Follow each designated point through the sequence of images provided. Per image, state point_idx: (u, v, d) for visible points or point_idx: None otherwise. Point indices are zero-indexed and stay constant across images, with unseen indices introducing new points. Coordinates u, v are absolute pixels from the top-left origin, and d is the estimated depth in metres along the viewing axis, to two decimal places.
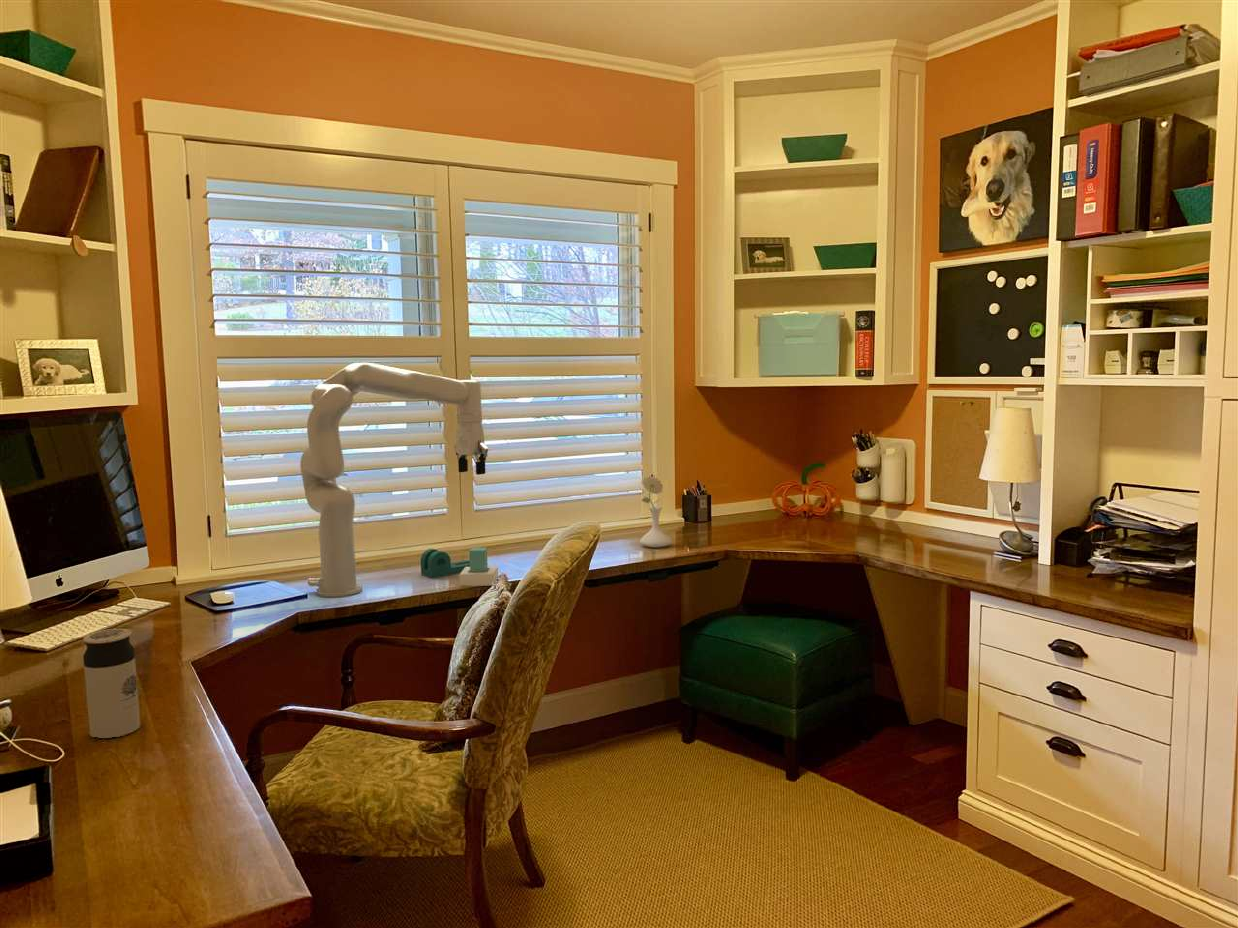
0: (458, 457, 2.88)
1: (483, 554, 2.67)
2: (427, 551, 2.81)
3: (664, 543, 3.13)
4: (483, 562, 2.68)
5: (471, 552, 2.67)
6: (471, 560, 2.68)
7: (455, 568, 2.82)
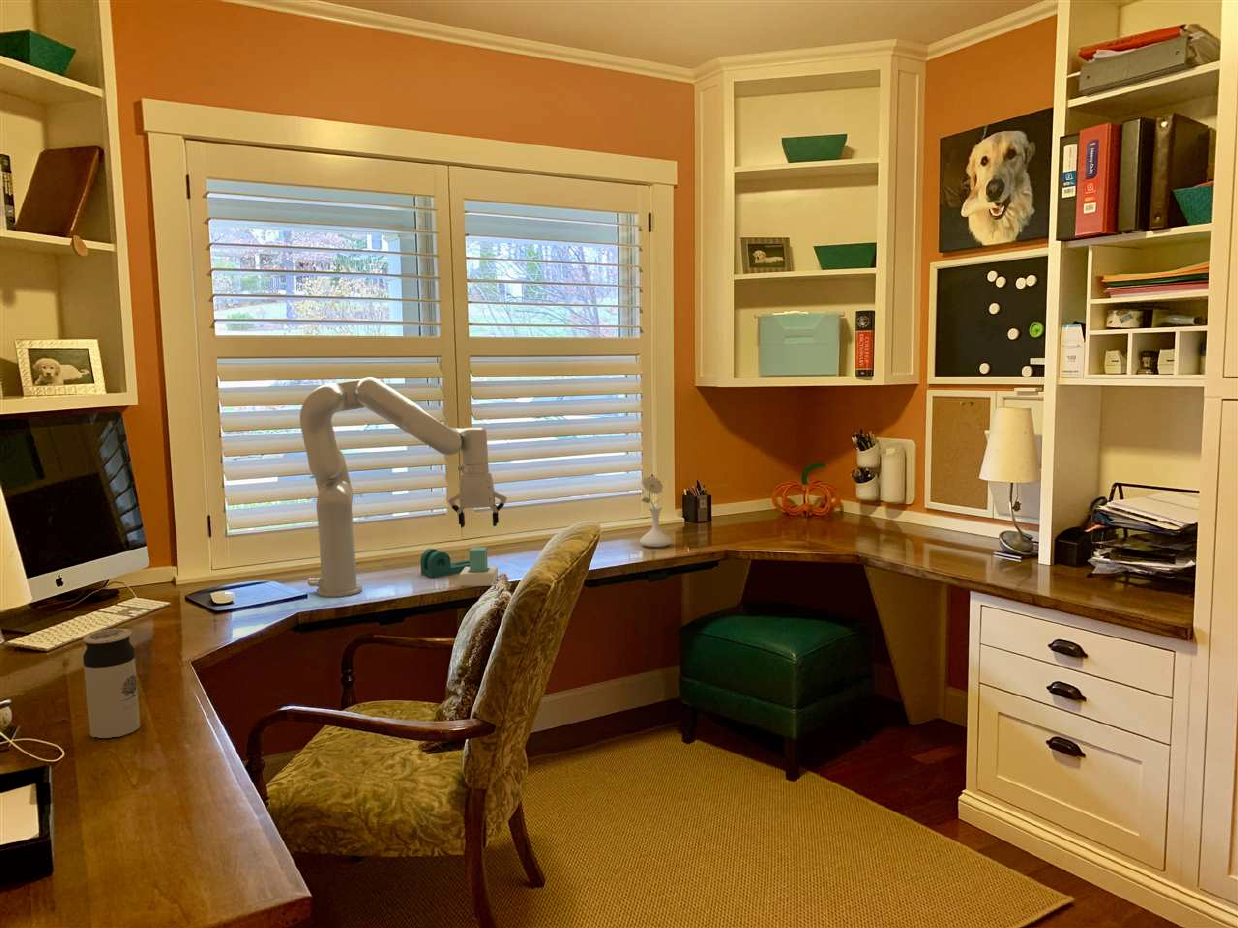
0: (459, 511, 2.67)
1: (483, 554, 2.67)
2: (427, 551, 2.81)
3: (664, 543, 3.13)
4: (483, 562, 2.68)
5: (471, 552, 2.67)
6: (471, 560, 2.68)
7: (455, 568, 2.81)
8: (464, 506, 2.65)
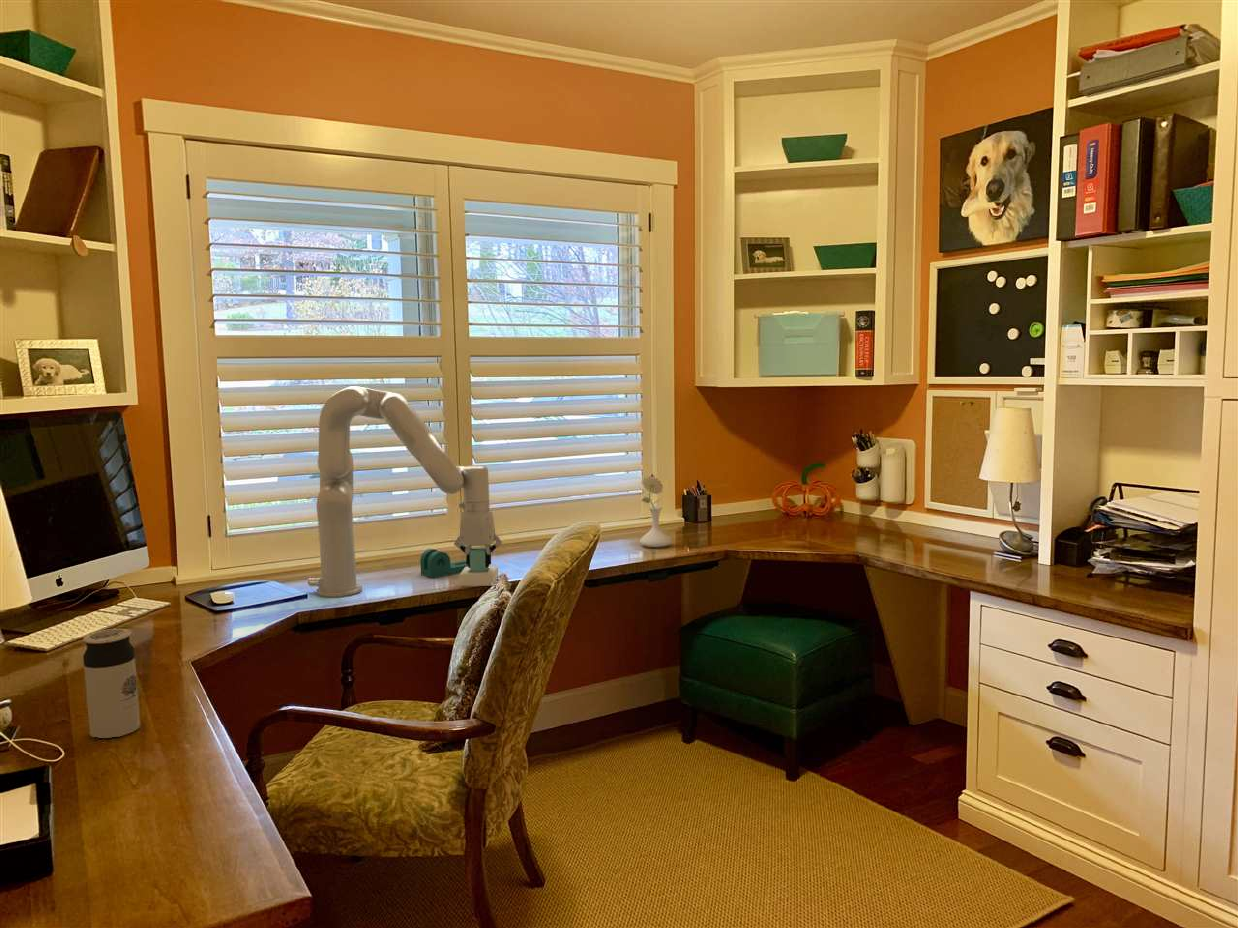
0: (467, 552, 2.68)
1: (483, 554, 2.67)
2: (427, 551, 2.81)
3: (664, 543, 3.13)
4: (483, 562, 2.68)
5: (471, 552, 2.67)
6: (471, 560, 2.68)
7: (455, 568, 2.81)
8: (464, 544, 2.67)
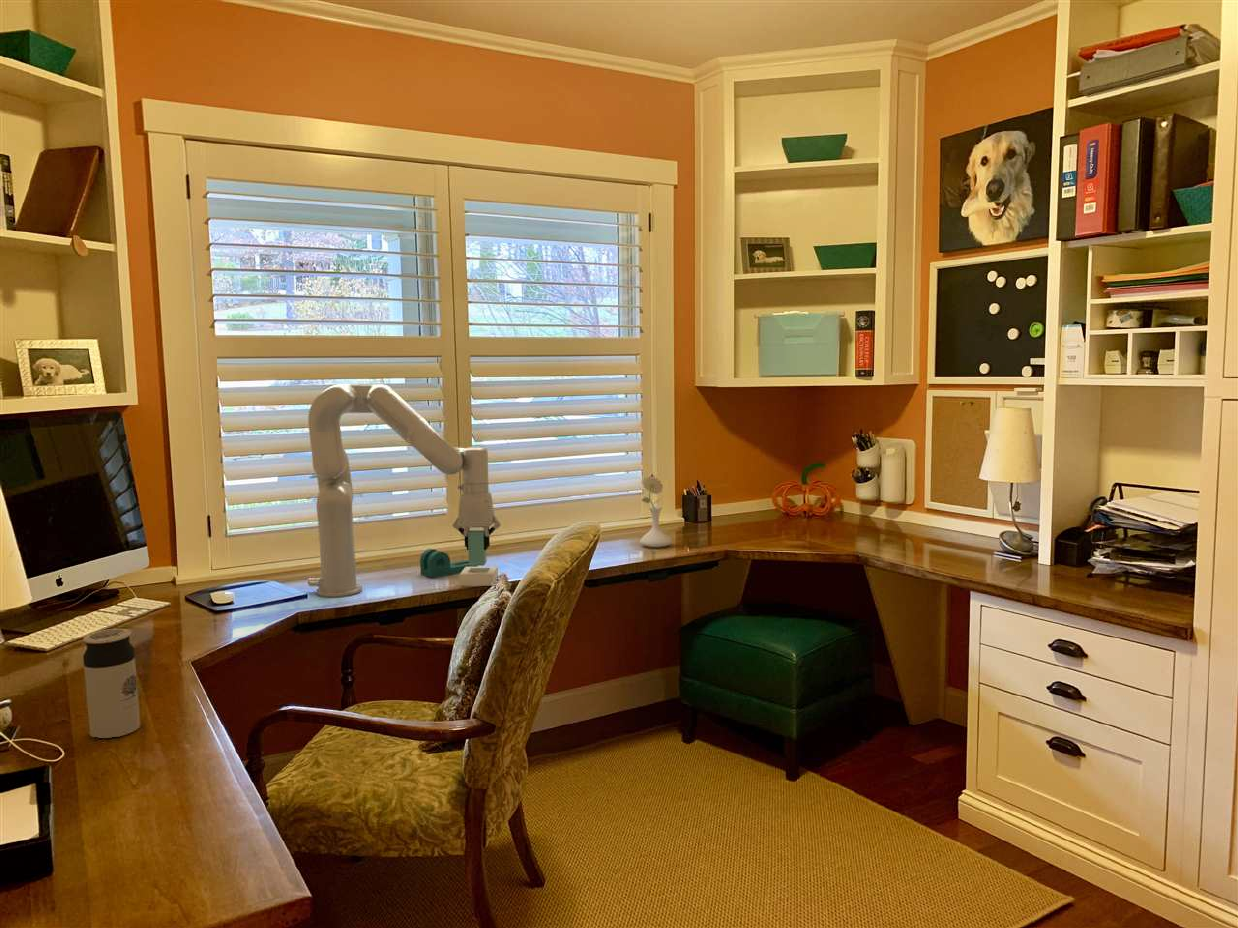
0: (465, 534, 2.68)
1: (482, 536, 2.67)
2: (427, 551, 2.81)
3: (664, 543, 3.13)
4: (481, 544, 2.67)
5: (470, 534, 2.67)
6: (469, 542, 2.67)
7: (455, 568, 2.81)
8: (463, 525, 2.66)
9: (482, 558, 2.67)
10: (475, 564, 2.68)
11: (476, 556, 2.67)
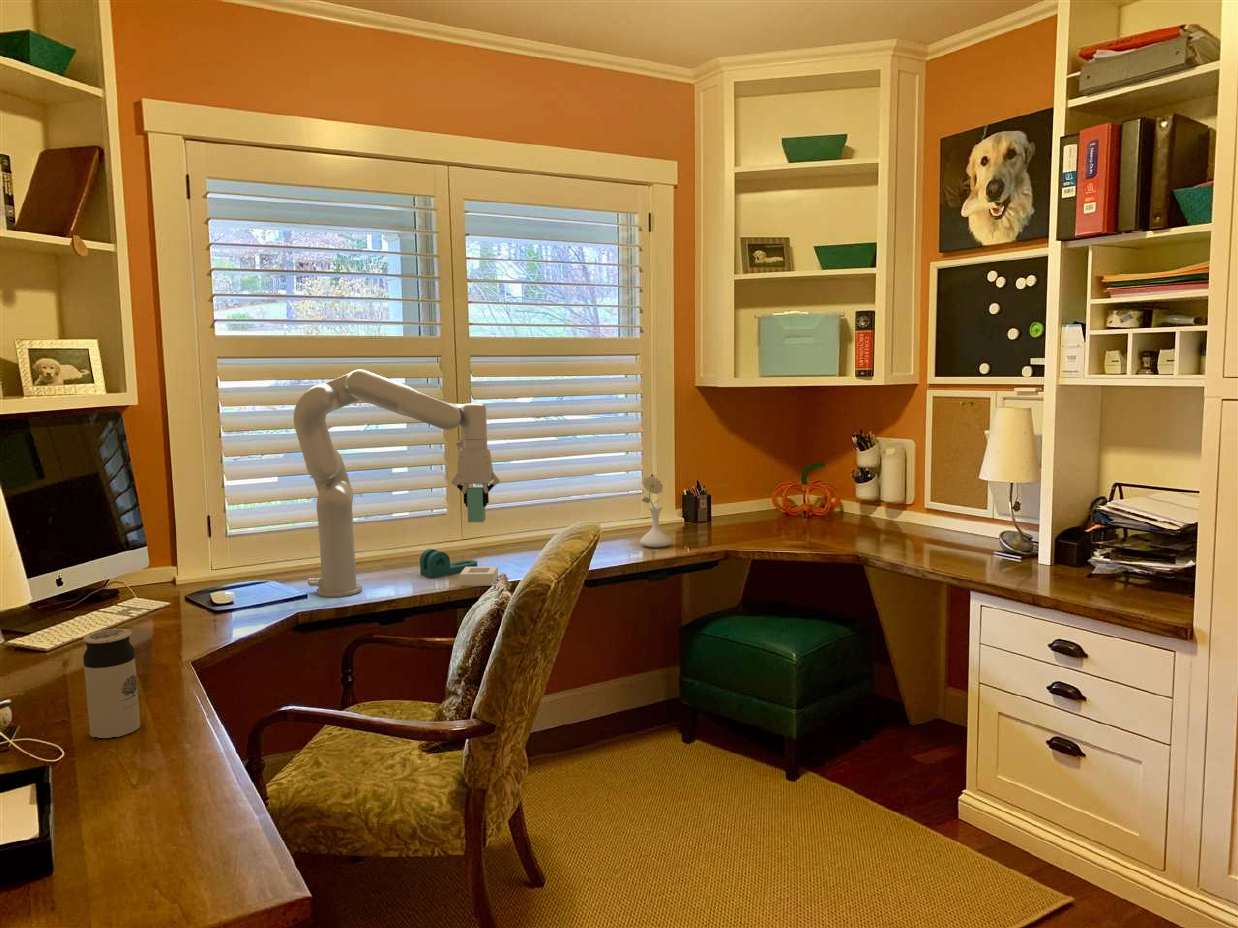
0: (464, 490, 2.66)
1: (481, 492, 2.65)
2: (426, 551, 2.81)
3: (664, 543, 3.13)
4: (481, 500, 2.66)
5: (468, 490, 2.65)
6: (468, 498, 2.66)
7: (454, 568, 2.81)
8: (462, 482, 2.65)
9: (481, 515, 2.66)
10: (474, 521, 2.66)
11: (475, 513, 2.66)
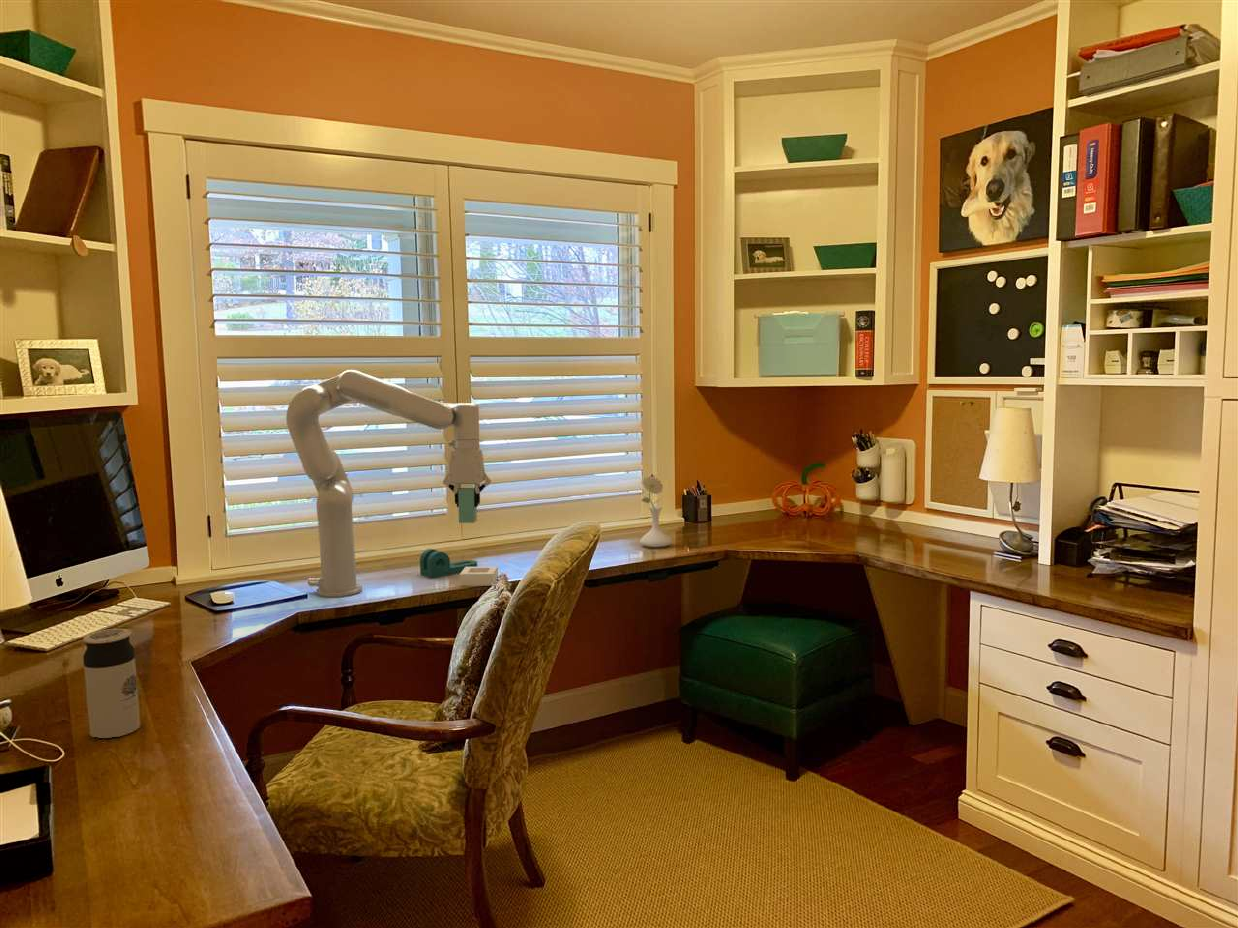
0: (455, 490, 2.65)
1: (472, 493, 2.64)
2: (426, 551, 2.81)
3: (664, 543, 3.13)
4: (472, 501, 2.65)
5: (460, 490, 2.64)
6: (460, 499, 2.65)
7: (454, 568, 2.81)
8: (453, 482, 2.64)
9: (472, 515, 2.65)
10: (465, 521, 2.65)
11: (466, 513, 2.65)
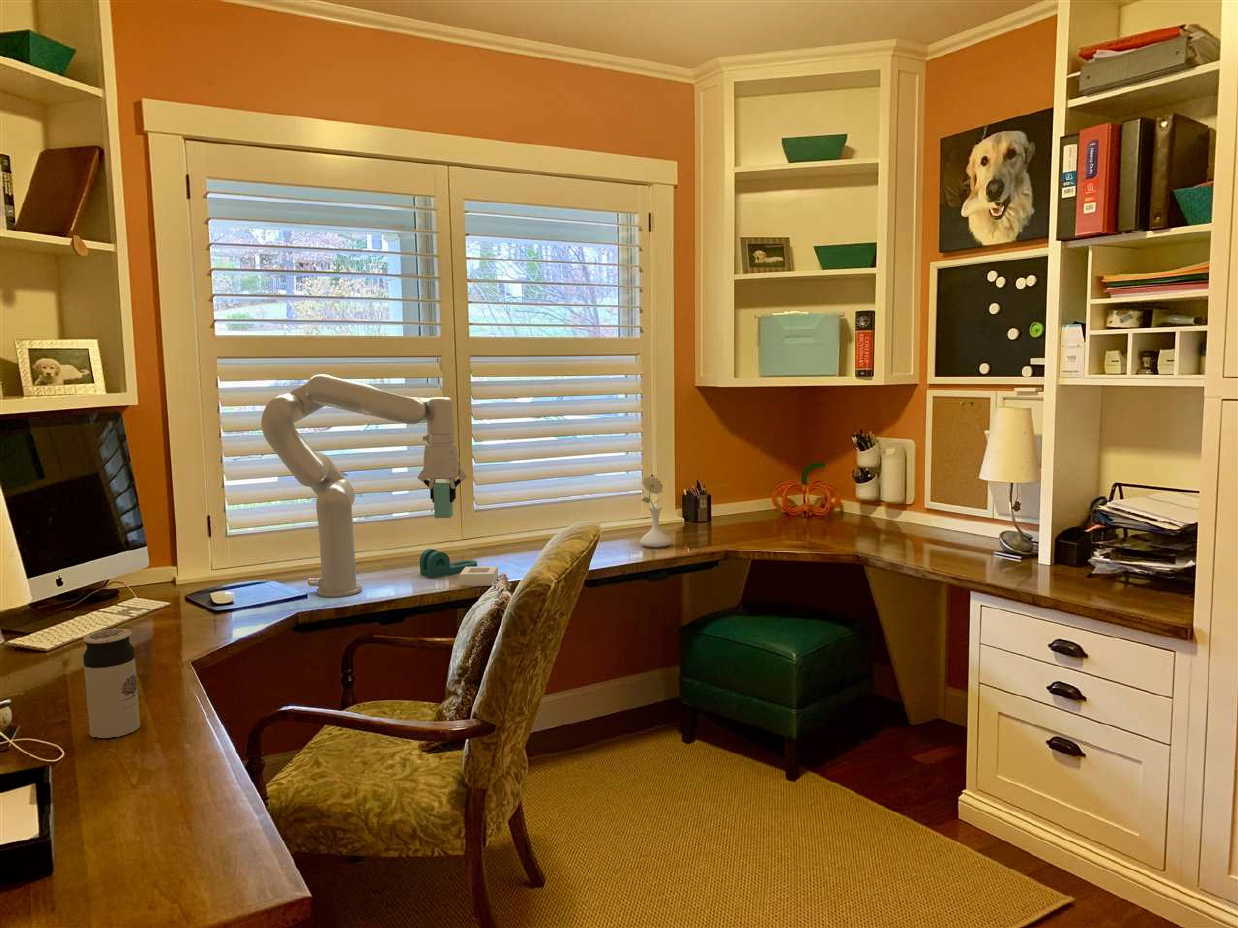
0: (431, 486, 2.62)
1: (447, 488, 2.61)
2: (426, 551, 2.81)
3: (664, 543, 3.13)
4: (447, 496, 2.62)
5: (435, 486, 2.61)
6: (435, 494, 2.61)
7: (454, 568, 2.81)
8: (428, 477, 2.60)
9: (448, 510, 2.62)
10: (441, 517, 2.62)
11: (441, 509, 2.62)
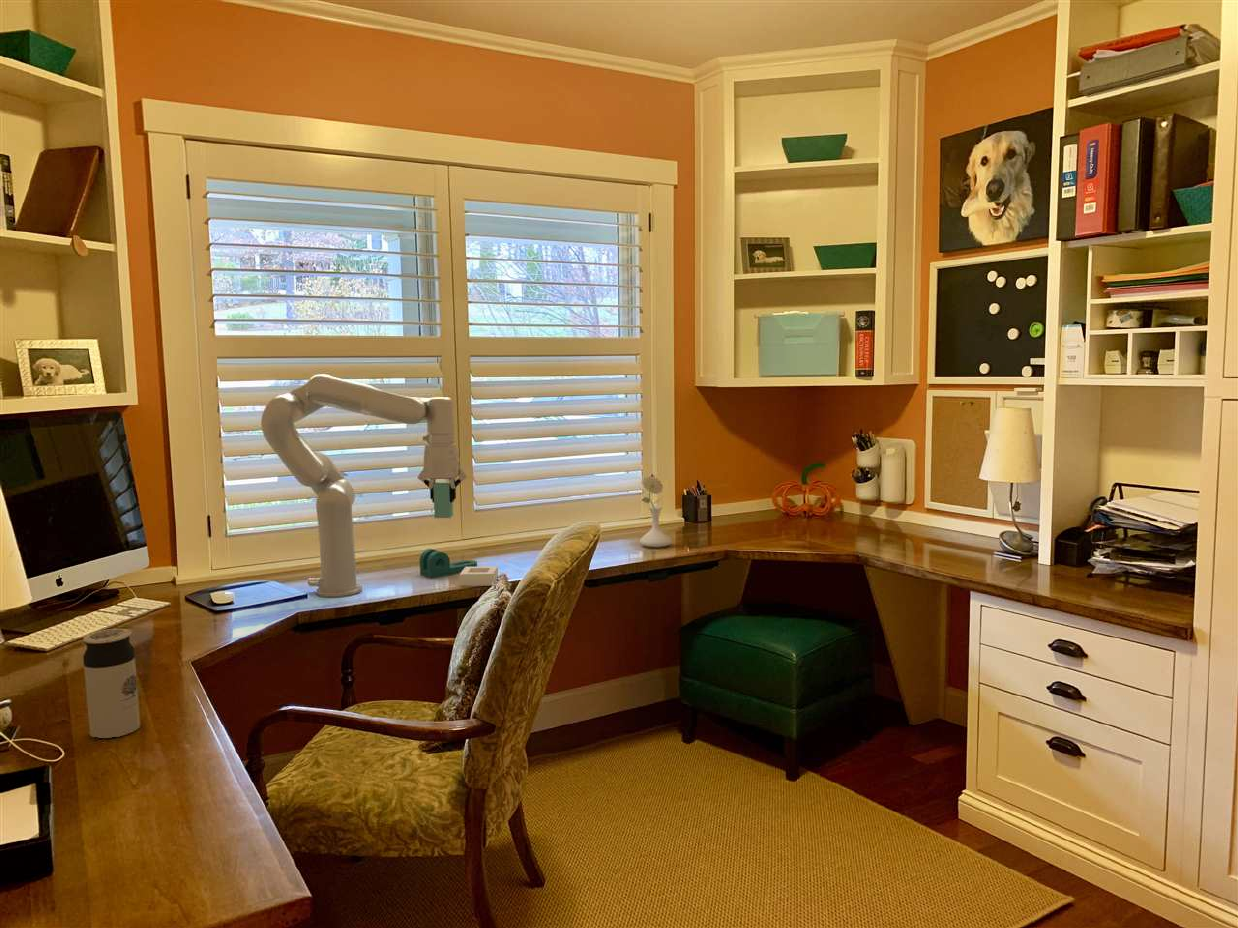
0: (431, 486, 2.62)
1: (447, 488, 2.61)
2: (426, 551, 2.81)
3: (664, 543, 3.13)
4: (447, 496, 2.62)
5: (435, 486, 2.61)
6: (435, 494, 2.61)
7: (454, 568, 2.81)
8: (428, 477, 2.60)
9: (448, 510, 2.62)
10: (441, 517, 2.62)
11: (441, 508, 2.62)
